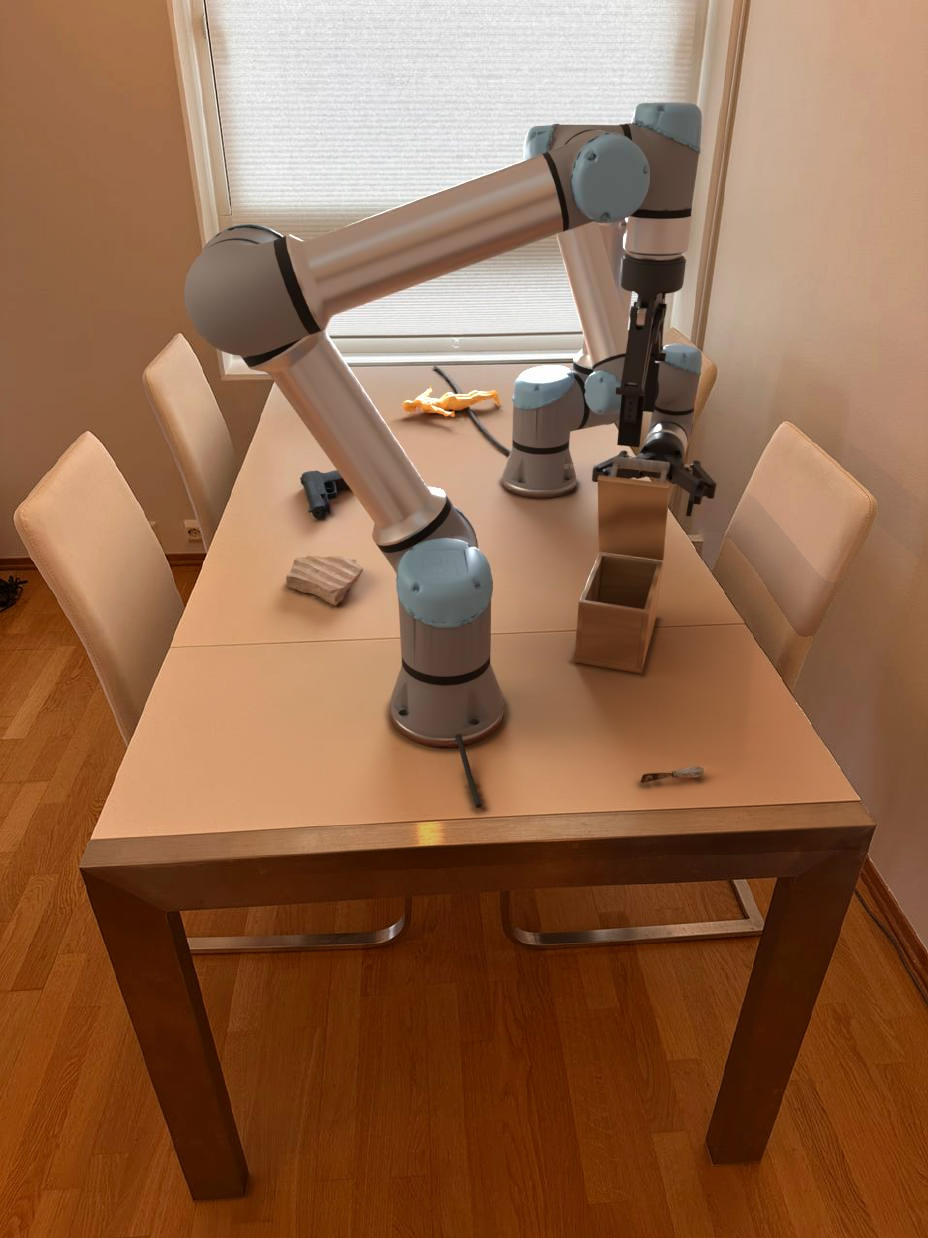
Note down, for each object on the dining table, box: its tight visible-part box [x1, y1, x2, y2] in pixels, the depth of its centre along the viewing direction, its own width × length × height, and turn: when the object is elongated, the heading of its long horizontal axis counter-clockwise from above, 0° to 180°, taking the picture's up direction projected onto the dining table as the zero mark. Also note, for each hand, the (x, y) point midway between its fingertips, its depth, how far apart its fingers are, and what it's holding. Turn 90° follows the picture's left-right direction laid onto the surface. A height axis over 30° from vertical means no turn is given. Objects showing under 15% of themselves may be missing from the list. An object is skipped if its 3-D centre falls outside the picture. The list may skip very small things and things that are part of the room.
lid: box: [597, 455, 671, 562], centre depth 132 cm, size 16×10×8 cm
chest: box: [574, 552, 664, 674], centre depth 133 cm, size 16×10×10 cm, turn 162°
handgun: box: [299, 469, 351, 520], centre depth 179 cm, size 3×18×12 cm
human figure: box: [402, 385, 500, 418], centre depth 225 cm, size 20×20×4 cm
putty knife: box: [640, 765, 705, 784], centre depth 109 cm, size 1×8×2 cm, turn 103°
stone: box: [284, 555, 364, 606], centre depth 150 cm, size 13×12×2 cm
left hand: (636, 427), depth 116 cm, fingers open, 13 cm apart
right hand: (646, 502), depth 141 cm, fingers open, 13 cm apart
